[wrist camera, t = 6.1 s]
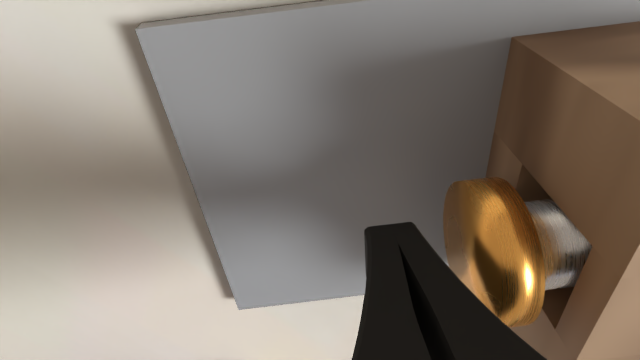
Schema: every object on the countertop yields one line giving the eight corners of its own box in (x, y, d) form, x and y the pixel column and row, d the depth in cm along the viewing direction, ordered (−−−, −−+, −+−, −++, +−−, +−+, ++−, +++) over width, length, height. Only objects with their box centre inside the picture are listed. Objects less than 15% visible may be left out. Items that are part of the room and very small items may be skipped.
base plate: (240, 298, 18) (238, 309, 17) (141, 23, 11) (134, 29, 10) (616, 253, 18) (625, 263, 17) (772, -55, 11) (795, -53, 10)
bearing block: (469, 261, 16) (545, 415, 12) (511, 36, 11) (689, 152, 6) (613, 243, 16) (749, 391, 12) (728, 10, 11) (1076, 106, 6)
